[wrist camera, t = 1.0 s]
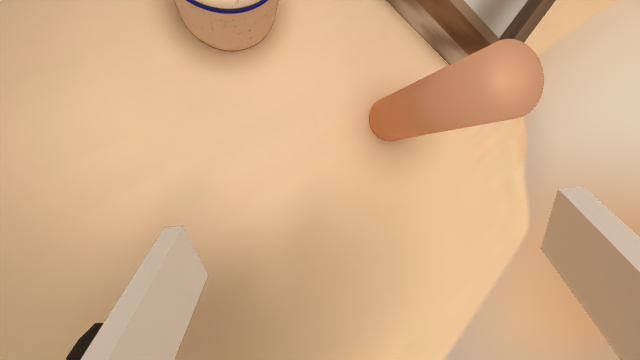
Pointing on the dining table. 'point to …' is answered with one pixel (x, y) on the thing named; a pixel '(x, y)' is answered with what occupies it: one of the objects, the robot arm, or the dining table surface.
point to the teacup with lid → (228, 21)
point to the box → (471, 22)
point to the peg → (464, 94)
